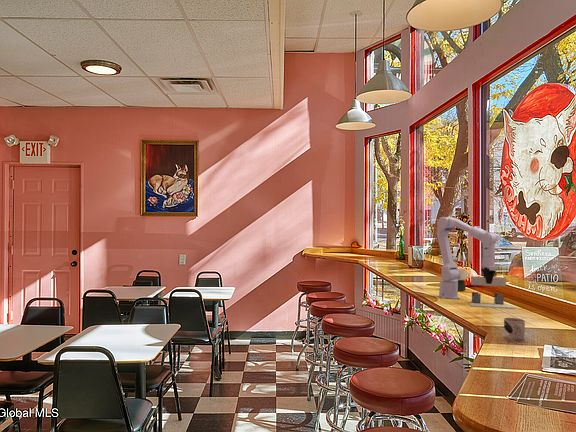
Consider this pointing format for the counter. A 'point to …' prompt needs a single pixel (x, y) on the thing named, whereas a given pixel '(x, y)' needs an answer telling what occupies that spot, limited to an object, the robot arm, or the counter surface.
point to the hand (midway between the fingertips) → (488, 283)
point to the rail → (482, 281)
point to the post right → (498, 299)
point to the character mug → (462, 279)
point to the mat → (491, 305)
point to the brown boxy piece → (476, 297)
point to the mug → (514, 329)
